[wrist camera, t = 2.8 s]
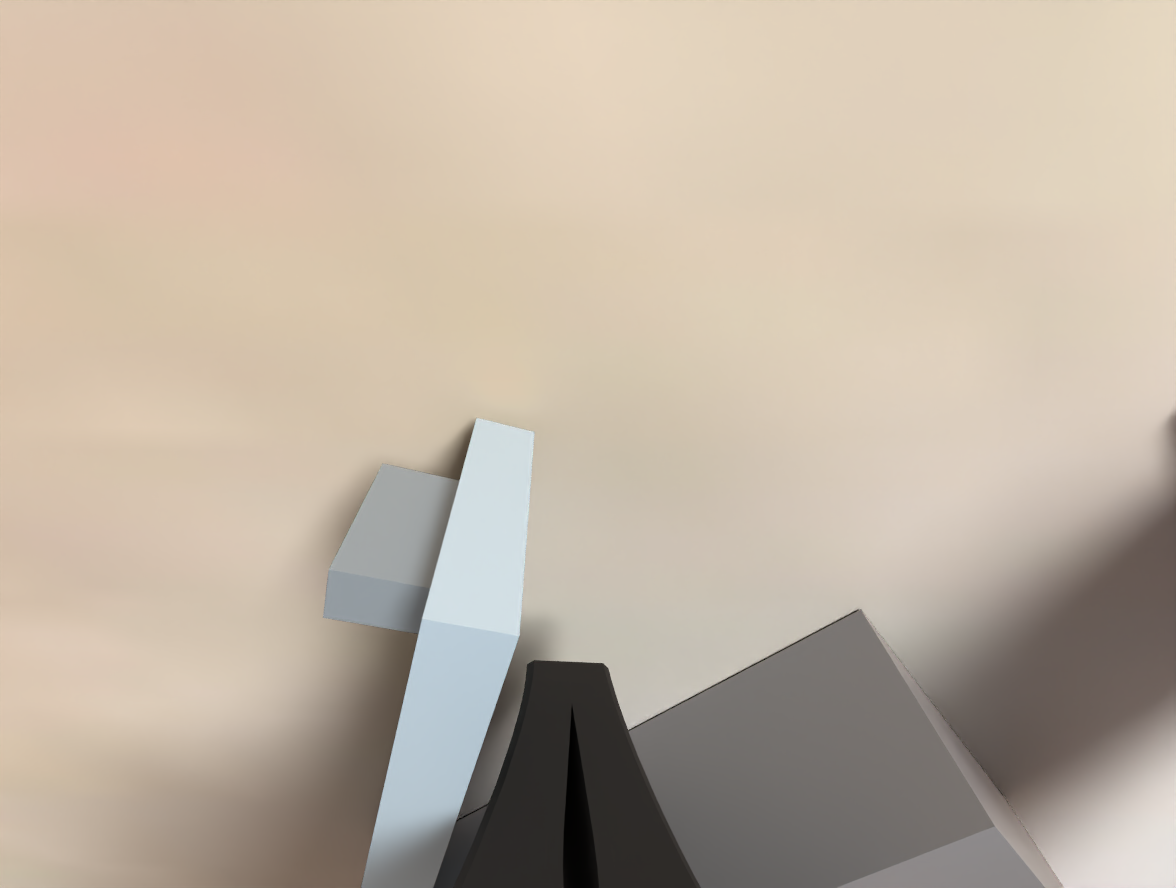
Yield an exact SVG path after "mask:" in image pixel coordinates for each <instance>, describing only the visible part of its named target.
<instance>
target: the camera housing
mask: <svg viewBox="0 0 1176 888" xmlns="http://www.w3.org/2000/svg"><path fill="white" fill-rule="evenodd" d="M629 734H630V737H631V739H632V742H633V745H634V747H635V750H636V752H637V755H638V757H639V759H640V762H641V764H642V766H643V769H644V771H645V773H646V776H647V778H648V780H649V783H650V785H651V787H652V789H653V792H654V794H655V796H656V799H657V801H658V803H659V805H660V807H661V809H662V812H663V814H664V816H665V818H666V820H667V822H668V824H669V826H670V828H671V830H672V832H673V834H674V836H675V838H676V840H677V842H678V845H679V847H680V849H681V851H682V853H683V855H684V857H685V858H686V860H687V862H688V864H689V866H690V868H691V870H692V872H693V874H694V876H695V878H696V880H697V881H698V883H699V885H700V887H701V888H1064V887H1063V885H1062V884H1061V882H1060V881H1059V879H1058V878H1057V876H1056V875H1055V873H1054V872H1053V870H1052V869H1051V867H1050V866H1049V864H1048V863H1047V861H1046V860H1045V858H1044V857H1043V855H1042V854H1041V852H1040V851H1039V849H1038V848H1037V846H1036V844H1035V843H1034V841H1033V840H1032V838H1031V837H1030V835H1029V834H1028V832H1027V831H1026V829H1025V828H1024V826H1023V825H1022V823H1021V822H1020V820H1019V819H1018V817H1017V816H1016V814H1015V813H1014V811H1013V810H1012V808H1011V807H1010V805H1009V804H1008V802H1007V801H1006V799H1005V798H1004V797H1003V795H1002V794H1001V793H1000V791H999V790H998V789H997V787H996V786H995V785H994V783H993V782H992V781H991V780H990V778H989V777H988V776H987V774H986V773H985V772H984V770H983V769H982V768H981V766H980V765H979V764H978V762H977V761H976V760H975V759H974V757H973V756H972V755H971V753H970V752H969V751H968V749H967V748H966V747H965V745H964V744H963V743H962V742H961V740H960V739H959V738H958V736H957V735H956V734H955V732H954V731H953V730H952V728H951V727H950V726H949V724H948V723H947V722H946V721H945V719H944V718H943V717H942V715H941V714H940V713H939V711H938V710H937V709H936V707H935V706H934V705H933V703H932V702H931V701H930V700H929V698H928V697H927V696H926V694H925V693H924V692H923V690H922V689H921V688H920V686H919V685H918V684H917V682H916V681H915V680H914V679H913V677H912V676H911V675H910V673H909V672H908V671H907V669H906V668H905V667H904V665H903V664H902V663H901V661H900V660H899V659H898V658H897V656H896V655H895V654H894V652H893V651H892V650H891V648H890V647H889V646H888V644H887V643H886V642H885V640H884V639H883V638H882V637H881V635H880V634H879V633H878V631H877V630H876V629H875V627H874V626H873V625H872V623H871V622H870V621H869V619H868V618H867V617H866V616H865V614H864V613H863V612H862V610H859V611H857V612H855V613H853V614H851V615H849V616H847V617H845V618H843V619H841V620H840V621H838V622H836V623H834V624H832V625H830V626H828V627H826V628H824V629H822V630H821V631H819V632H817V633H815V634H813V635H811V636H809V637H807V638H805V639H803V640H801V641H800V642H798V643H796V644H794V645H792V646H790V647H788V648H786V649H784V650H782V651H781V652H779V653H777V654H775V655H773V656H771V657H769V658H767V659H765V660H763V661H761V662H760V663H758V664H756V665H754V666H752V667H750V668H748V669H746V670H744V671H742V672H741V673H739V674H737V675H735V676H733V677H731V678H729V679H727V680H725V681H723V682H721V683H720V684H718V685H716V686H714V687H712V688H710V689H708V690H706V691H704V692H702V693H700V694H699V695H697V696H695V697H693V698H691V699H689V700H687V701H685V702H683V703H681V704H680V705H678V706H676V707H674V708H672V709H670V710H668V711H666V712H664V713H662V714H660V715H659V716H657V717H655V718H653V719H651V720H649V721H647V722H645V723H643V724H641V725H640V726H638V727H636V728H634V729H632V730H630V731H629ZM487 806H488V805H487ZM487 806H485V807H483V808H481V809H480V810H478V811H476V812H474V813H472V814H470V815H468V816H466V817H464V818H462V819H460V820H459V821H457V822H456V823H455V826H454V829H453V831H452V834H451V837H450V840H449V843H448V846H447V849H446V852H445V855H444V858H443V861H442V864H441V866H440V869H439V872H438V875H437V878H436V881H435V884H434V887H433V888H453V887H454V884H455V882H456V880H457V878H458V876H459V873H460V871H461V869H462V867H463V864H464V862H465V860H466V857H467V855H468V853H469V851H470V848H471V846H472V844H473V841H474V839H475V836H476V834H477V831H478V829H479V826H480V824H481V821H482V819H483V816H484V814H485V811H486V809H487Z"/></svg>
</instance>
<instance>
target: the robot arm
mask: <svg viewBox="0 0 1176 888" xmlns="http://www.w3.org/2000/svg"><path fill="white" fill-rule="evenodd" d="M453 888H701V887H700V885H699V883H698V881H697V880H696V878H695V876H694V874H693V872H692V870H691V868H690V866H689V864H688V862H687V860H686V858H685V857H684V855H683V853H682V851H681V849H680V847H679V845H678V842H677V840H676V838H675V836H674V834H673V832H672V830H671V828H670V826H669V824H668V822H667V820H666V818H665V816H664V814H663V812H662V809H661V807H660V805H659V803H658V801H657V799H656V796H655V794H654V792H653V789H652V787H651V785H650V783H649V780H648V778H647V776H646V773H645V771H644V769H643V766H642V764H641V762H640V759H639V757H638V755H637V752H636V750H635V747H634V745H633V742H632V739H631V737H630V734H629V731H628V729H627V726H626V723H625V721H624V718H623V715H622V712H621V709H620V707H619V704H618V700H617V697H616V694H615V691H614V688H613V684H612V681H611V677H610V673H609V669H608V668H607V667H606V666H605V665H604V664H603V663H583V662H561V661H538V660H534V661H532V662H531V663H529V664H527V672H526V682H525V688H524V693H523V698H522V703H521V707H520V711H519V715H518V718H517V722H516V725H515V729H514V732H513V736H512V739H511V742H510V745H509V748H508V751H507V754H506V757H505V760H504V763H503V766H502V769H501V772H500V775H499V778H498V780H497V783H496V786H495V789H494V791H493V794H492V796H491V799H490V801H489V804H488V806H487V809H486V811H485V814H484V816H483V819H482V821H481V824H480V826H479V829H478V831H477V834H476V836H475V839H474V841H473V844H472V846H471V848H470V851H469V853H468V855H467V857H466V860H465V862H464V864H463V867H462V869H461V871H460V873H459V876H458V878H457V880H456V882H455V884H454V887H453Z"/></svg>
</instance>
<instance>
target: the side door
mask: <svg viewBox="0 0 1176 888" xmlns="http://www.w3.org/2000/svg"><path fill="white" fill-rule="evenodd" d="M533 445H534V432H533V431H529V430H525V429H520V428H516V427H512V426H508V425H504V424H500V423H496V422H492V421H488V420H483V419H479V418H476V422H475V426H474V429H473V433H472V437H471V440H470V444H469V448H468V451H467V455H466V459H465V462H464V466H463V470H462V473H461V477H460V481H459V480H455V479H450V478H446V477H441V476H437V475H432V474H428V473H423V472H419V471H414V470H410V469H405V468H401V467H396V466H392V465H387V464H382V466H381V468H380V470H379V472H378V474H377V476H376V478H375V480H374V482H373V484H372V486H371V488H370V490H369V491H368V493H367V495H366V497H365V499H364V501H363V503H362V505H361V507H360V509H359V511H358V513H357V515H356V517H355V519H354V521H353V523H352V525H351V527H350V529H349V531H348V533H347V535H346V537H345V539H344V541H343V543H342V545H341V547H340V549H339V550H338V552H337V554H336V556H335V558H334V560H333V562H332V564H331V566H330V568H329V573H328V581H327V590H326V598H325V607H324V615H323V618H329V619H334V620H340V621H346V622H352V623H358V624H363V625H369V626H375V627H381V628H387V629H392V630H398V631H404V632H410V633H416V634H418V639H417V643H416V648H415V652H414V656H413V661H412V665H411V670H410V674H409V678H408V683H407V687H406V692H405V696H404V700H403V705H402V709H401V714H400V718H399V722H398V727H397V731H396V736H395V740H394V744H393V749H392V753H391V758H390V762H389V766H388V771H387V775H386V780H385V784H384V788H383V793H382V797H381V802H380V806H379V810H378V815H377V819H376V824H375V828H374V832H373V837H372V841H371V845H370V850H369V854H368V859H367V863H366V867H365V872H364V876H363V881H362V885H361V888H433V887H434V884H435V881H436V878H437V875H438V872H439V869H440V866H441V864H442V861H443V858H444V855H445V852H446V849H447V846H448V843H449V840H450V837H451V834H452V831H453V829H454V826H455V823H456V820H457V817H458V814H459V811H460V808H461V805H462V802H463V799H464V796H465V793H466V791H467V788H468V785H469V782H470V779H471V776H472V773H473V770H474V767H475V764H476V761H477V758H478V756H479V753H480V750H481V747H482V744H483V741H484V738H485V735H486V732H487V729H488V726H489V723H490V720H491V718H492V715H493V712H494V709H495V706H496V703H497V700H498V697H499V694H500V691H501V688H502V685H503V683H504V680H505V677H506V674H507V671H508V668H509V665H510V662H511V659H512V656H513V653H514V650H515V647H516V645H517V642H518V639H519V635H520V621H521V608H522V594H523V581H524V567H525V554H526V540H527V527H528V513H529V500H530V486H531V472H532V459H533Z"/></svg>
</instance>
